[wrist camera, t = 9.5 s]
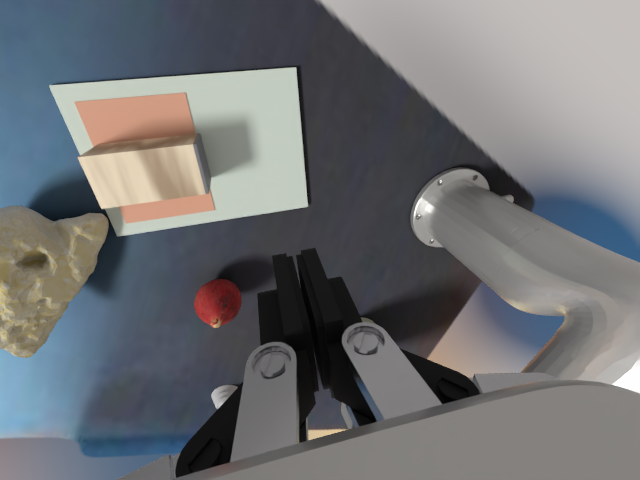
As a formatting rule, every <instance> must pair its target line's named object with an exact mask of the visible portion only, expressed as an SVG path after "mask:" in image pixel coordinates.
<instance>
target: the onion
mask: <svg viewBox="0 0 640 480" xmlns="http://www.w3.org/2000/svg"><path fill="white" fill-rule="evenodd" d="M194 307H195V310H196V313H197V315H198V316H199V318H201V319H202V320H203V321H204V322H205V323H208V324H210V325H211V326H212V327H214V328H216V327H219V326H220V325H224V324H226V323H228V322H230V321H231V320H232V319H233V318H234V317H235V316H236V315H237V314H238V311H239V309H240V307H241V294H240V291H239V289H238V288H237V286H236V285H235V284H234V283H232V282H230V281H229V280H226V279H216V280H212V281H210V282H208V283H206V284H204V285H203V286H202V287H201V288H200V289H199V290H198V292H197V294H196V297H195V301H194Z"/></svg>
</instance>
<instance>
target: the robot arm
mask: <svg viewBox="0 0 640 480" xmlns="http://www.w3.org/2000/svg"><path fill="white" fill-rule="evenodd" d="M513 201H514V198H513V196H512V195H505V196H499V195H497V194H495V193H493V192H491V191H490V188H489V185H488V182H487V181H486V179H485V178H484V177H483V176H482V175H481V174H480V173H478V172H476V171H474V170H472V169H469V168H462V167H459V168H452V169H449V170H446V171H444V172H442V173H440V174H438V175H436V176H435V177H434V178H433V179H431V180H430V181H429V182H428V183H427V184H426V185H425V186H424V187H423V188H422V190H421V191H420V192H419V194H418V196H417V197H416V199H415V201H414V204H413V207H412V210H411V226H412V230H413V232H414V234H415V235H416V236H417V237H418V238H419V240H421V241H422V242H423V243H424V244H426V245H428V246H432V247H445V248H446V249H447V250H448V251H449V252H450V253H451V254H453V255H454V256H455V257H456V258H457V259H458V260H459V261H461V262H462V263H463V264H464V265H465V266H466V267H467V268H469V269H470V270H471V271H472V272H473V273H474V274H475V275H477V276H478V277H479V278H480V279H481V280H482V281H483V282H485V283H486V284H487V285H488V286H489V287H490V288H492V289H493V290H494V291H495V292H496V293H497V294H498V295H499V296H501V298H503V299H504V300H505V301H506V302H508V303H509V304H510V305H512V306H513V307H515V308H517V309H519V310H522V311H525V312H528V313H532V314H538V315H552V316H553V315H554V316H565V320H564V322H563V324H562V325H561V327H560V328H559V329H558V330H557V331H556V333H555V335H554V336H553V337H552V338H551V339H550V340H549V341H548V343H547V344H546V345H545V346H544V347H543V348H542V349H541V350H540V351H539V353H538V354H537V355H536V356H535V357H534V358H533V359H532V360H531V361H530V362H529V363H528V365H527V366H526V367H525V368H524V369H523V370H522V371H521V373H494V374H474V377H473V378H468V377H466V376H465V375H462V374H461V373H459V372H457V371H454V370H452V369H449V368H447V367H444V366H442V365H440V364H437V363H434V362H432V361H430V360H427V359H425V358H422V357H420V356H417V355H415V354H412V353H410V352H407V351H405V350H402V349H400V348H399V347H398V346H397V345H396V343H395V342H394V341H393V340H392V338H391V337H390V336H389V334H388V333H387V332H386V331H385V330H384V329H383V328H382V327H380V326H378V325H376V324H373V323H369V322H363V321H362V319H361V317H360V315H359V313H358V311H357V309H356V306H355V304H354V302H353V300H352V298H351V296H350V294H349V291H348V289H347V287H346V285H345V283H344V281H343V279H342V277H336V278H331V279H327V277H326V274H325V272H324V269H323V267H322V264H321V262H320V259H319V257H318V254H317V252H316V249H315V248H312V249H306V250H301V254H300V255H296V257H297V264H298V271H299V278H300V284H299V280H298V277H297V273H296V269H295V265H294V261H293V257H292V256H289V257H287V255H286V253H285V254H279V255H274V256H272V259H273V265H274V272H275V278H276V285H277V289H275V290H270V291H265V292H260V293H258V310H259V326H260V342H261V346H260V347H258V348H257V349H256V350H255V351H253V352H252V354H251V355H250V357H249V358H248V361H247V364H246V370H245V376H244V381H243V382H242V383H241V384H240V386H239V387H238V388H237V389H236V390H235V391H234V392H233V393H232V394H231V395H230V397H229V398H228V399H227V400H226V401H225V402H224V403H223V404H222V405H221V406H220V407H219V409H218V410H217V411H216V412H215V413H214V414H213V415H212V416H211V417H210V418H209V420H208V421H207V422H206V423H205V424H204V425H203V426H202V427H201V428H200V429H199V431H198V432H197V433H196V434H195V435H194V436H193V437H192V438H191V439H190V440H189V441H188V443H187V444H186V445H185V447H184V448H183V450H182V451H181V453H179V454H177V455H175V456H173V457H170V455H169V454H168V455H166V456H164V457H162V458H160V459H158V460H156V461H154V462H152V463H150V464H148V465H146V466H144V467H142V468H139V469H138V470H135V471H133V472H131V473H130V474H128V475H126V476H123V477H121V478H119V479H117V480H640V263H639V262H637V261H634V260H632V259H629V258H627V257H624V256H622V255H619V254H616V253H614V252H612V251H610V250H607V249H605V248H603V247H601V246H599V245H597V244H594V243H592V242H590V241H588V240H586V239H584V238H581V237H579V236H577V235H575V234H573V233H571V232H569V231H567V230H565V229H563V228H561V227H559V226H557V225H555V224H553V223H551V222H549V221H547V220H546V219H543V218H542V217H540V216H538V215H536V214H534V213H532V212H530V211H528V210H526V209H524V208H522V207H520V206H518V205H516V204H514V203H513ZM300 285H301V288H300ZM313 349H314V350H313ZM314 353H315V357H316V361H317V365H318V369H319V373H320V377H321V381H322V385H323V389H328V388H330V392H331V396H332V398H335V399H337V400H338V401H340V402H342V403H344V404H346V408H347V411H348V414H349V416H350V418H351V420H352V422H353V424H354V426H355V428H353V429H349V430H345V431H342V432H338V433H334V434H331V435H327V436H323V437H320V438H316V439H313V440H309V441H308V421H307V416H308V415H309V413H310V412H311V410H312V409H313V407H314V405H315V404H316V403H315V396H314V392H316V391H319V387H318V380H317V372H316V365H315V357H314Z"/></svg>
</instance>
